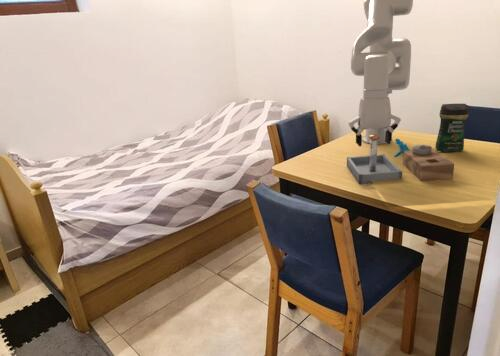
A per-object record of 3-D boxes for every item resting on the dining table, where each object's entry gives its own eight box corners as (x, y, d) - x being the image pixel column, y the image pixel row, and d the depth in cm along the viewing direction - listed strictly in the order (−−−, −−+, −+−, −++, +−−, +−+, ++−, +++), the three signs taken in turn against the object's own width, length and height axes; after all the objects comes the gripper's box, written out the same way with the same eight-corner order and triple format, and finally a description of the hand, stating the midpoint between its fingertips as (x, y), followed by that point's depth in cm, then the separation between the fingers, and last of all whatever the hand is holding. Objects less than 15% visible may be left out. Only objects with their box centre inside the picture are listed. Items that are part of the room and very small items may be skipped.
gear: (415, 159, 134) (396, 139, 136) (402, 169, 137) (384, 149, 138) (417, 153, 144) (399, 135, 145) (404, 163, 147) (387, 145, 148)
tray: (346, 165, 138) (346, 157, 137) (383, 163, 138) (384, 154, 137) (359, 184, 122) (359, 174, 120) (401, 181, 121) (402, 171, 120)
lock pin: (367, 169, 131) (368, 134, 126) (375, 168, 131) (377, 133, 125) (369, 172, 128) (371, 137, 123) (378, 171, 128) (380, 136, 123)
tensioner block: (402, 166, 133) (403, 143, 130) (430, 164, 132) (432, 141, 129) (420, 183, 118) (423, 158, 115) (452, 181, 118) (455, 155, 114)
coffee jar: (438, 154, 142) (443, 106, 135) (433, 147, 149) (438, 102, 142) (465, 153, 139) (472, 105, 132) (459, 147, 146) (465, 101, 139)
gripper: (398, 90, 122) (394, 139, 129) (346, 94, 123) (345, 143, 130) (406, 93, 115) (402, 145, 122) (351, 98, 116) (350, 149, 123)
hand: (373, 144), depth 126 cm, fingers open, 9 cm apart
